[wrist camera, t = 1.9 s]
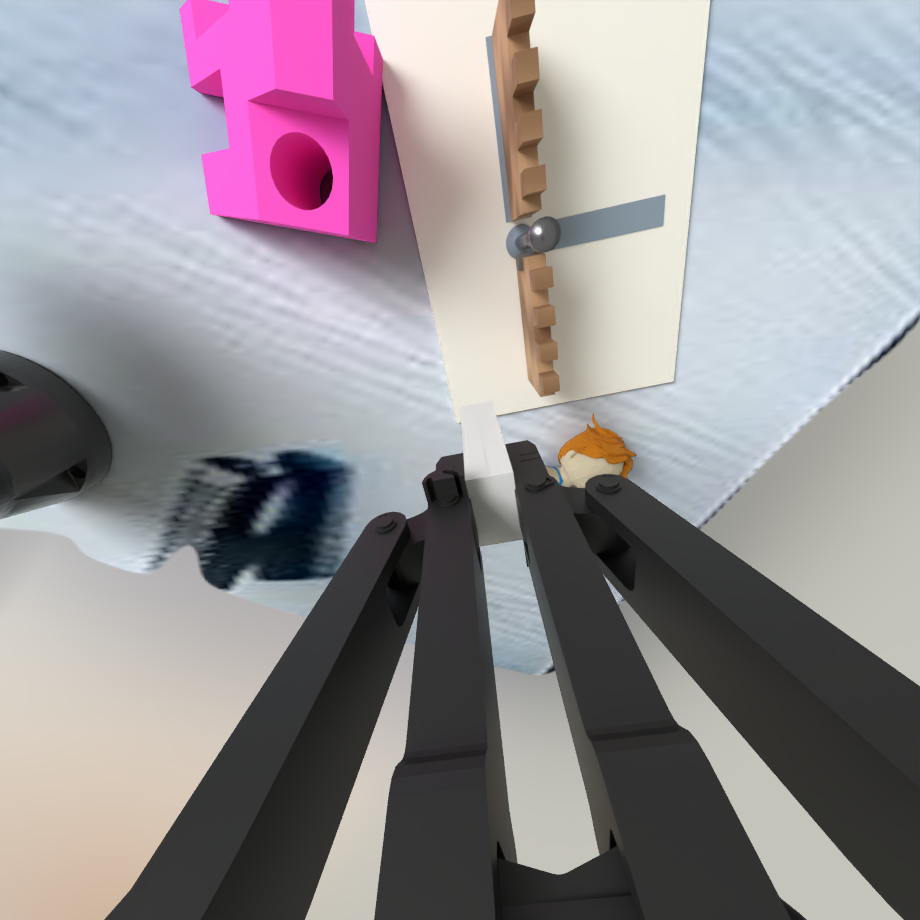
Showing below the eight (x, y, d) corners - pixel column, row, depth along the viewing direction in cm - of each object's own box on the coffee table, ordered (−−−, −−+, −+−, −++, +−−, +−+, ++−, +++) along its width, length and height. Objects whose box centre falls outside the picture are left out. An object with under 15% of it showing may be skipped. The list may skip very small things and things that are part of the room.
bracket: (382, 58, 23) (330, -78, 14) (376, 243, 28) (334, 231, 19) (189, 18, 22) (0, -154, 13) (217, 215, 27) (93, 189, 18)
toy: (472, 520, 33) (623, 433, 28) (460, 470, 37) (590, 385, 32) (532, 551, 41) (659, 489, 36) (517, 508, 45) (629, 445, 40)
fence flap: (511, 256, 28) (527, 254, 23) (534, 251, 28) (556, 247, 22) (525, 380, 33) (541, 404, 27) (544, 376, 33) (564, 400, 27)
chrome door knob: (511, 257, 29) (531, 255, 21) (508, 231, 28) (528, 220, 21) (533, 252, 28) (561, 248, 21) (531, 226, 28) (560, 213, 20)
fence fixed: (526, 218, 27) (547, 205, 22) (511, 221, 27) (528, 210, 22) (510, 31, 23) (531, -50, 17) (491, 36, 23) (506, -43, 17)
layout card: (456, 421, 36) (456, 423, 35) (363, -10, 22) (361, -16, 21) (671, 380, 34) (674, 381, 34) (716, -110, 20) (722, -118, 20)
